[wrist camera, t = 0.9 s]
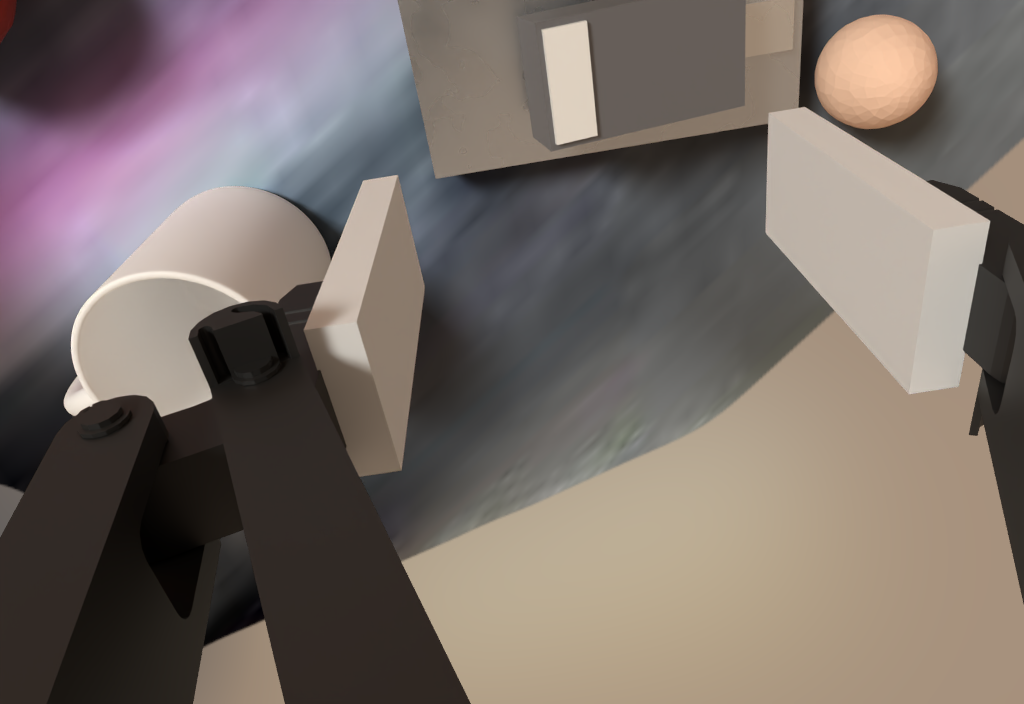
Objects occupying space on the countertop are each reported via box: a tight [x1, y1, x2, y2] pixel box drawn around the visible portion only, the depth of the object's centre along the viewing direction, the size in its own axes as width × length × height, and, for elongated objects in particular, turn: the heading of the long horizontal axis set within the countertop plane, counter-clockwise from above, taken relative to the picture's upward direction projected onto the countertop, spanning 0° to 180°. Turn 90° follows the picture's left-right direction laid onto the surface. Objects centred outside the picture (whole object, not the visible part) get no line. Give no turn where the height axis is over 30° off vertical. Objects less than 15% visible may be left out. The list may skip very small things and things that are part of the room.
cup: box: [64, 186, 331, 417], centre depth 33 cm, size 8×12×10 cm
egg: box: [815, 15, 938, 129], centre depth 31 cm, size 4×4×6 cm
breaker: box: [516, 0, 746, 152], centre depth 28 cm, size 8×4×3 cm, turn 98°
